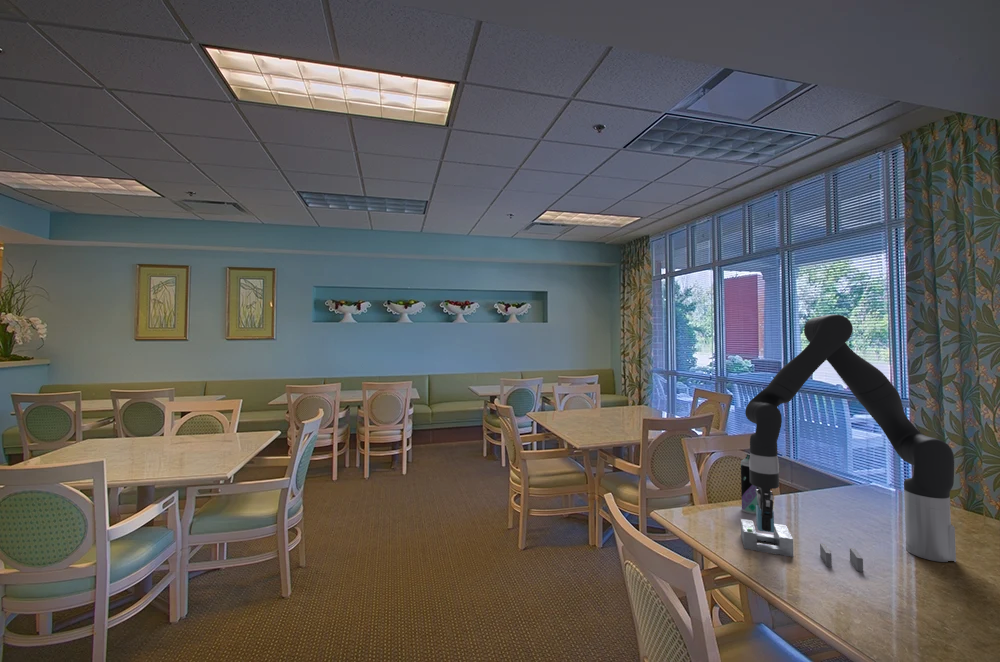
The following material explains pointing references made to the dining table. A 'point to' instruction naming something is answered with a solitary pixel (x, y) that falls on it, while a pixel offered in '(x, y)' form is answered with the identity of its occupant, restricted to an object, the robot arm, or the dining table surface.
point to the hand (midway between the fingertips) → (765, 527)
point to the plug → (759, 519)
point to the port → (767, 539)
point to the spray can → (747, 488)
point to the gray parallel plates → (854, 557)
